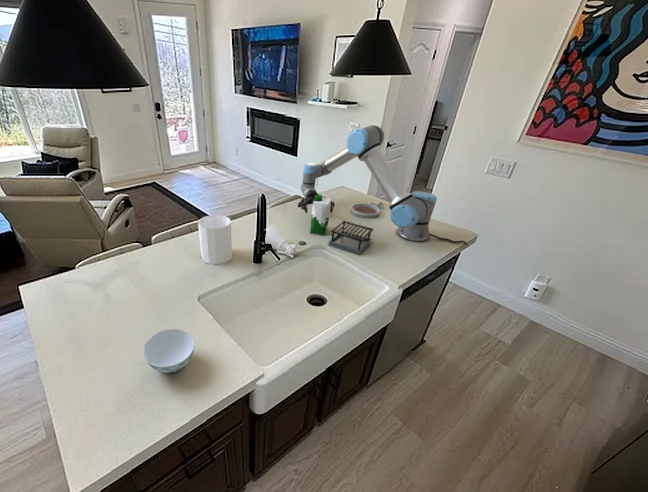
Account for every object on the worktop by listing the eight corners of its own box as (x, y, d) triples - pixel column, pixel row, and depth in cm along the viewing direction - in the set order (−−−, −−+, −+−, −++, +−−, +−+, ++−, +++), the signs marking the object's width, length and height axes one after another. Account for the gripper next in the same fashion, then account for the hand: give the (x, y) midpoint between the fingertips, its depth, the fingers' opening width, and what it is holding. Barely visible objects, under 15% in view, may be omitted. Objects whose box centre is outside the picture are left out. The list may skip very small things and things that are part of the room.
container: (233, 262, 151) (232, 227, 141) (202, 265, 148) (199, 230, 138) (229, 247, 163) (228, 213, 153) (200, 249, 160) (197, 216, 150)
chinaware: (141, 384, 96) (136, 366, 92) (154, 345, 108) (150, 328, 104) (192, 384, 96) (189, 366, 92) (199, 345, 109) (197, 328, 104)
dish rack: (370, 242, 167) (373, 228, 163) (359, 255, 157) (362, 240, 153) (341, 233, 175) (343, 220, 171) (328, 245, 165) (330, 230, 161)
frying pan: (394, 204, 203) (370, 216, 187) (393, 209, 205) (369, 221, 188) (370, 196, 213) (345, 207, 197) (369, 201, 215) (344, 211, 199)
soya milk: (311, 226, 182) (315, 192, 171) (327, 229, 180) (332, 194, 168) (308, 233, 175) (312, 198, 164) (325, 236, 173) (330, 200, 161)
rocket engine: (301, 240, 149) (271, 221, 156) (286, 260, 148) (257, 240, 156) (305, 248, 160) (277, 230, 167) (291, 267, 159) (263, 248, 166)
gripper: (331, 201, 194) (341, 216, 177) (289, 202, 193) (295, 217, 175) (333, 189, 190) (343, 203, 172) (290, 189, 189) (296, 204, 171)
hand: (319, 210), depth 174 cm, fingers open, 13 cm apart
